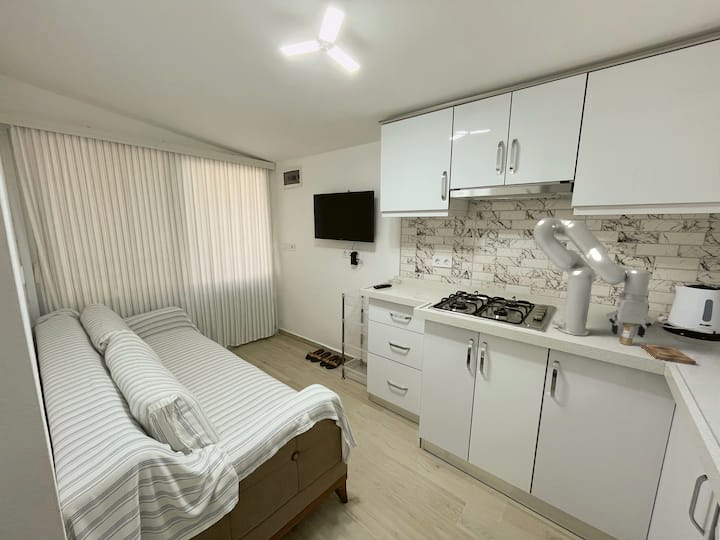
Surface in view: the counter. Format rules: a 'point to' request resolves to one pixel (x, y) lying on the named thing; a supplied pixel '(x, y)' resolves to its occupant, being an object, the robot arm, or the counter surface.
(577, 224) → the robot arm
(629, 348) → the counter surface
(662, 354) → the plinth
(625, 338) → the sprinkles bottle
